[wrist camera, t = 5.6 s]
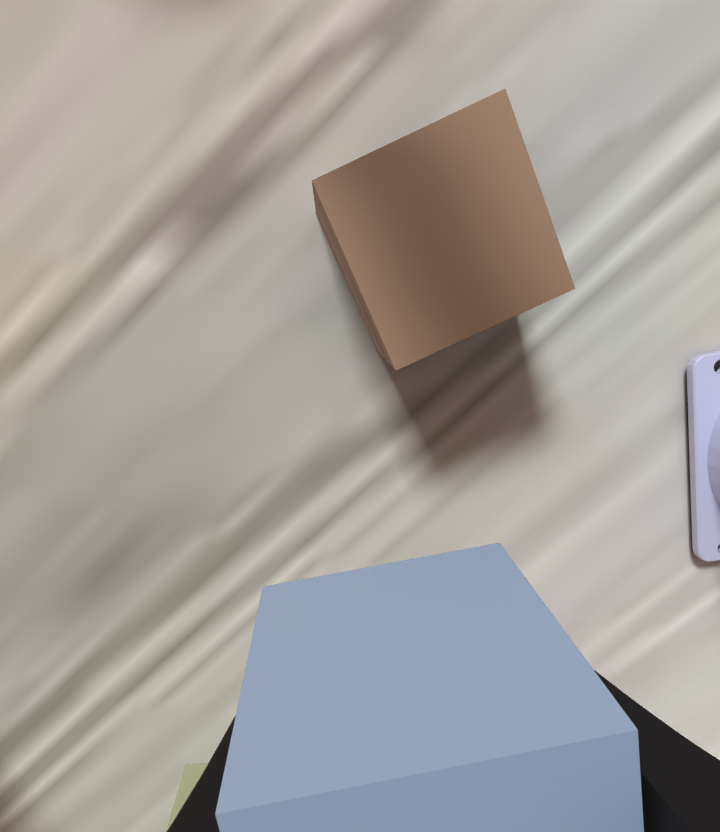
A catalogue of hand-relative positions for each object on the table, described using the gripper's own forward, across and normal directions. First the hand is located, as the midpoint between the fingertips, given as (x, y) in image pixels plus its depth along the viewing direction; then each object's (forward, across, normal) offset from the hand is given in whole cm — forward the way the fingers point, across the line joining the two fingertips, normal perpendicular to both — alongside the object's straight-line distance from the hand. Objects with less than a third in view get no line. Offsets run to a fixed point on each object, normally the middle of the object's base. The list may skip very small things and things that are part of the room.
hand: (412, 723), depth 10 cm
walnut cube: (+10, -3, -9) cm, 14 cm away
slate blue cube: (+2, 0, 0) cm, 2 cm away
